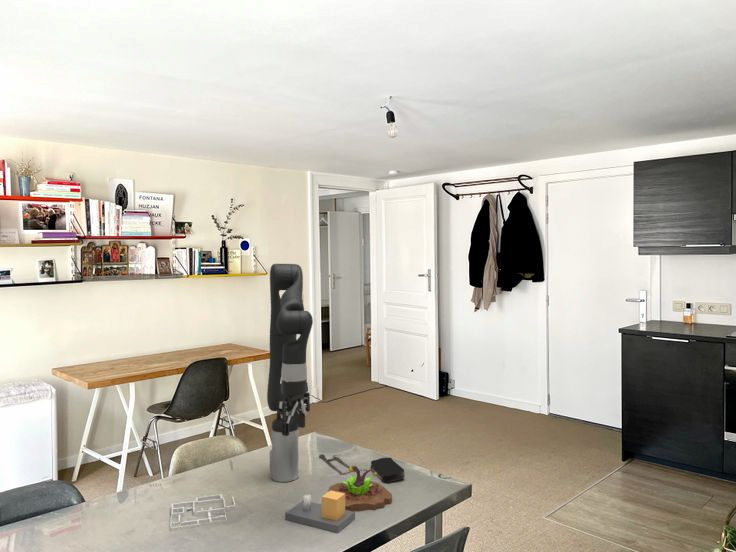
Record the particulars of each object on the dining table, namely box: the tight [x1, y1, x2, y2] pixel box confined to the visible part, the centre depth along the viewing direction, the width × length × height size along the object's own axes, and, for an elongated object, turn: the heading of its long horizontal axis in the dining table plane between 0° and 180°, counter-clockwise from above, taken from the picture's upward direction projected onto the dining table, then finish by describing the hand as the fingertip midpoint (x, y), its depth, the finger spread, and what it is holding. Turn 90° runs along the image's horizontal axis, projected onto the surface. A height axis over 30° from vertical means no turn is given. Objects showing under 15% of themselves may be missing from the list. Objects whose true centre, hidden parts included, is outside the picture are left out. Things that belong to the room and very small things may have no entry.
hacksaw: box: [318, 454, 368, 476], centre depth 212 cm, size 24×10×2 cm, turn 28°
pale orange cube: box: [321, 490, 345, 521], centre depth 165 cm, size 5×5×6 cm
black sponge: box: [370, 457, 406, 484], centre depth 202 cm, size 16×8×4 cm, turn 19°
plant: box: [326, 465, 393, 512], centre depth 181 cm, size 20×20×11 cm
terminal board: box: [284, 494, 356, 534], centre depth 167 cm, size 18×10×6 cm, turn 63°
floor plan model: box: [169, 493, 236, 532], centre depth 174 cm, size 19×25×2 cm
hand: (293, 431), depth 169 cm, fingers open, 8 cm apart
